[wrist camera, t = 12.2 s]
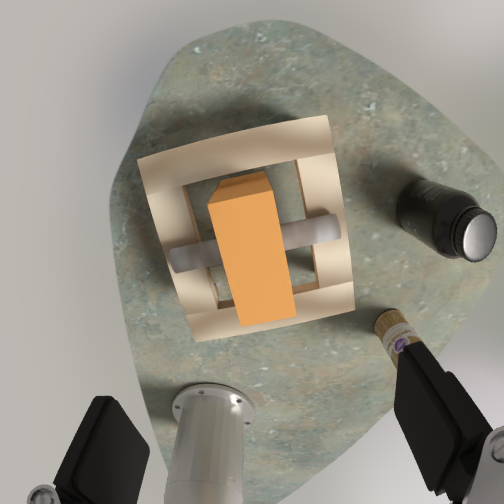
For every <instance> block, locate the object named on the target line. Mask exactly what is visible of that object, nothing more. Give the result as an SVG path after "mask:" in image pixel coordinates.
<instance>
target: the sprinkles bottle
mask: <svg viewBox="0 0 504 504" xmlns="http://www.w3.org/2000/svg"><path fill="white" fill-rule="evenodd" d="M374 327H375V329H374V330H375V333H376V335H377V336H378V337H379V338H380V340H381V342H382V344H383V346H384V348H385V350H386V351H387V353H388V355H389V357H390V358H391V360H392V362H393V364H394V366H395V367H396V369H398V355H399V352H401V351H403V347H404V346H405V345H409V344H412V343H415V342H417V341H422V339H421V338H420V337H419V335H418V334H417V333H416V332H415V330H414V329H413V328H412V327H411V326H410V324H409V323H408V322H407V321H406V319H405V318H404V315H403V314H402V313H401V312H400V311H398V310H389V311H386V312H384V313H383V314H381V315H380V316H379V317H378V319H377V320H376V323H375V326H374ZM422 342H423V341H422ZM423 343H424V342H423ZM425 346H426V345H425ZM426 347H427V346H426ZM428 350H429V349H428ZM440 366H441V364H440ZM441 367H442V366H441ZM442 368H443V367H442ZM443 370H444V368H443ZM444 371H445V370H444ZM445 372H446V371H445Z"/></svg>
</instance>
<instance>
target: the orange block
mask: <svg viewBox="0 0 504 504" xmlns="http://www.w3.org/2000/svg"><path fill="white" fill-rule="evenodd" d="M208 209H209V212H210V216H211V220H212V224H213V228H214V231H215V235H216V239H217V242H218V246H219V250H220V253H221V257H222V261H223V264H224V268H225V271H226V275H227V279H228V282H229V286H230V289H231V293H232V296H233V300H234V303H235V307H236V310H237V314H238V317H239V320H240V324H241V327H244V326H249V325H255V324H260V323H265V322H270V321H275V320H280V319H285V318H290V317H295V316H297V314H296V309H295V303H294V297H293V292H292V286H291V281H290V276H289V270H288V265H287V260H286V254H285V249H284V244H283V239H282V234H281V229H280V224H279V219H278V214H277V209H276V204H275V199H274V194H273V190H272V188H271V185H270V183H269V181H268V178H267V176H266V174H265V172H264V171H261V172H256V173H251V174H247V175H242V176H238V177H233V178H229V179H225V180H221V181H220V183H219V185H218V187H217V188H216V190H215V192H214V194H213V196H212V197H211V199H210V201H209V203H208Z"/></svg>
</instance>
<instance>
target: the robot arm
mask: <svg viewBox="0 0 504 504" xmlns="http://www.w3.org/2000/svg"><path fill="white" fill-rule="evenodd" d="M172 412H173V415H174V417H175V419H176V421H177V422H178V423H179V426H178V430H177V435H176V440H175V444H174V449H173V454H172V459H171V464H170V469H169V473H168V478H167V484H166V489H165V494H164V504H243V471H244V432H245V431H246V430H248V429H249V428H250V427H251V425H252V424H253V422H254V417H255V413H254V407H253V404H252V403H251V402H250V400H249V399H248V398H247V397H246V396H245V395H243V394H242V393H240V392H239V391H237V390H234V389H232V388H229V387H226V386H222V385H217V384H198V385H194V386H190V387H188V388H185V389H183V390H182V391H180V392H179V393H178V394H177V395H176V397H175V399H174V401H173V405H172ZM394 412H395V415H396V418H397V420H398V422H399V424H400V426H401V428H402V431H403V433H404V435H405V437H406V440H407V442H408V444H409V446H410V449H411V450H412V453H413V455H414V458H415V460H416V462H417V465H418V467H419V469H420V472H421V474H422V476H423V479H424V481H425V484H426V486H427V488H428V490H429V491H434V492H435V494H436V496H439V495H441V494H442V493H445V492H446V494H447V496H448V498H449V500H450V501H451V502H450V504H504V426H502V427H499V428H496V429H495V430H493V429H492V428H491V426H490V425H489V423H488V422H487V420H486V419H485V417H484V416H483V414H482V413H481V411H480V410H479V409H478V407H477V406H476V404H475V403H474V401H473V400H472V399H471V397H470V396H469V395H468V393H467V392H466V390H465V389H464V387H463V386H462V385H461V383H460V382H459V381H458V379H457V378H456V377H455V375H454V374H453V373H452V372H449V371H447V372H445V371H444V370H443V368H442V367H441V366H440V364H439V363H438V361H437V360H436V359H435V357H434V356H433V355H432V353H431V352H430V351H429V350H428V348H427V347H426V346H425V344H424V343H423V342H422V341H417V342H415V343H412V344H409V345H405V346H404V347H403V351H401V352H399V355H398V369H397V381H396V391H395V401H394ZM149 453H150V449H149V446H148V444H147V443H146V441H145V440H144V439H143V437H142V436H141V434H140V433H139V432H138V430H137V429H136V427H135V426H134V425H133V423H132V422H131V420H130V419H129V417H128V416H127V415H126V413H125V411H124V410H123V408H122V407H121V405H120V404H119V402H118V401H117V400H115V399H114V398H113V397H112V396H96V397H95V398H94V399H93V401H92V403H91V405H90V406H89V408H88V410H87V412H86V414H85V416H84V418H83V420H82V422H81V424H80V426H79V428H78V430H77V433H76V434H75V436H74V438H73V440H72V442H71V445H70V447H69V449H68V451H67V453H66V455H65V457H64V459H63V461H62V464H61V466H60V468H59V470H58V473H57V475H56V477H55V479H54V482H53V484H54V485H56V488H55V489H54V488H53V487H51V486H49V485H40V486H37V487H35V488H34V489H33V490H32V491H31V492H30V494H29V495H28V499H27V504H137V500H138V496H139V491H140V488H141V484H142V480H143V476H144V473H145V469H146V465H147V461H148V457H149Z"/></svg>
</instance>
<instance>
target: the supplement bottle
mask: <svg viewBox="0 0 504 504" xmlns="http://www.w3.org/2000/svg"><path fill="white" fill-rule="evenodd" d="M397 216H398V220H399V222H400V224H401V226H402V227H403V229H404V230H405V231H407V232H408V233H409V234H411V235H412V236H414V237H415V238H417V239H418V240H420V241H421V242H423V243H424V244H426V245H427V246H429V247H430V248H432V249H433V250H434V251H436V252H437V253H439V254H440V255H442V256H444V257H446V258H450V259H456V258H461V257H462V258H464V259H466V260H467V261H470V262H475V263H476V262H480V261H482V260H483V259H485V258H486V257H487V256H488V255H489V253H490V252H491V251H492V249H493V247H494V244H495V241H496V238H497V237H496V236H497V227H496V223H495V220H494V218H493V216H492V215H491V214H490V213H488V212H487V211H485V210H483V209H482V208H480V206H479V204H478V202H477V201H476V199H475V198H474V197H473V196H471V195H470V194H468V193H466V192H463V191H460V190H457V189H454V188H451V187H448V186H445V185H442V184H438V183H435V182H432V181H428V180H416V181H413V182H411V183H410V184H408V185H407V186H406V187H405V188H404V190H403V191H402V192H401V194H400V196H399V199H398V203H397Z"/></svg>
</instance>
